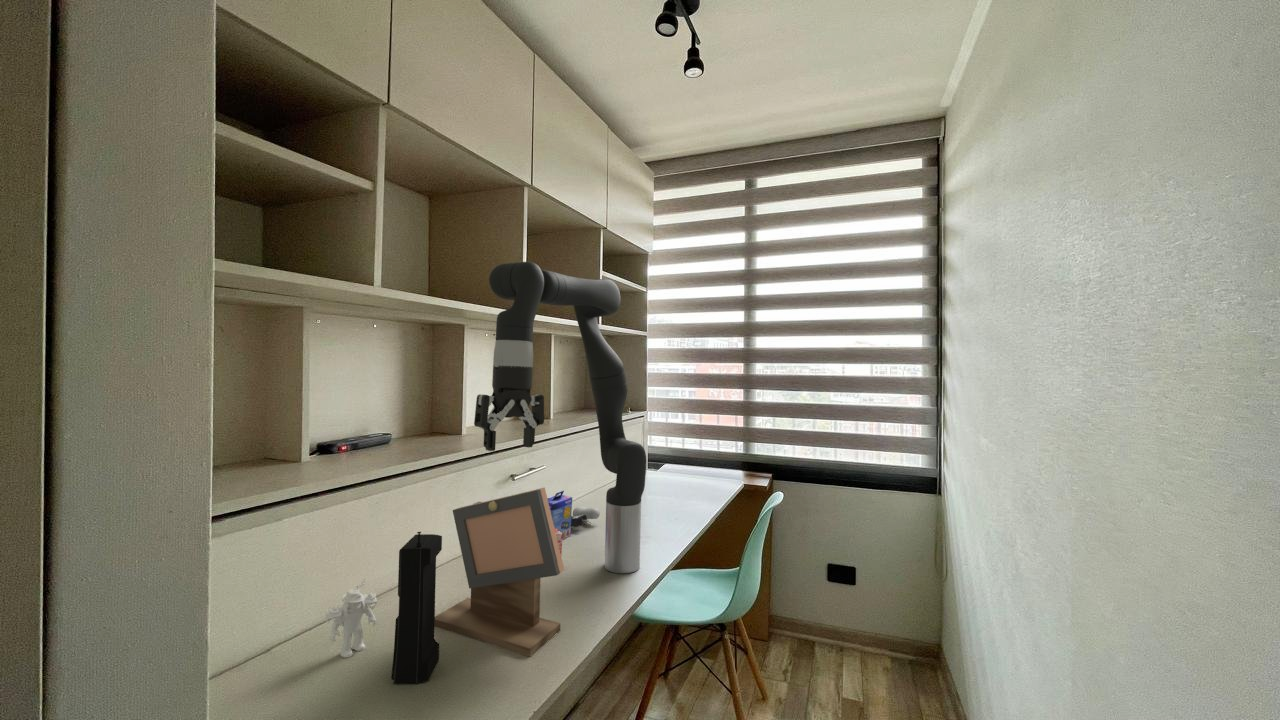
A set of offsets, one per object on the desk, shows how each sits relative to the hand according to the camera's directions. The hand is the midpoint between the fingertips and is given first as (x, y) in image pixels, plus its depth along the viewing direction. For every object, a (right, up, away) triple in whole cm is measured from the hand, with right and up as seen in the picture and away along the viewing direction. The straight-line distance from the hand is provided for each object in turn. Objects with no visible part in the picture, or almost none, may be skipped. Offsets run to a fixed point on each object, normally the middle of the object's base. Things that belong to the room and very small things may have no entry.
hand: (509, 448), depth 99 cm
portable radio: (-14, -37, -10) cm, 40 cm away
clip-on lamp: (+3, -37, +70) cm, 79 cm away
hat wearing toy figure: (-28, -36, -5) cm, 46 cm away
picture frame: (+1, -26, +2) cm, 26 cm away
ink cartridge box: (0, -37, +55) cm, 66 cm away
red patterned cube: (-1, -37, +39) cm, 54 cm away
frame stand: (-4, -37, +4) cm, 37 cm away
